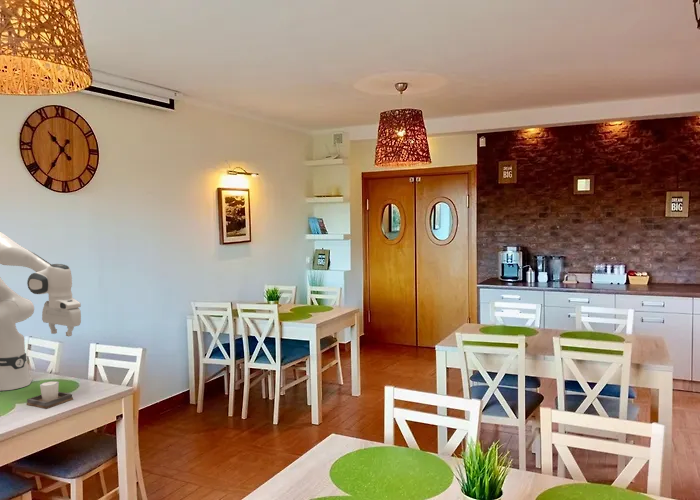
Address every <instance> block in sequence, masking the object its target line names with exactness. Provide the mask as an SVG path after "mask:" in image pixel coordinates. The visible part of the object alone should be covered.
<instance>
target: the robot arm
mask: <svg viewBox="0 0 700 500" xmlns="http://www.w3.org/2000/svg"><path fill="white" fill-rule="evenodd" d="M0 265H1V266H2V265H3V266H11V267H12V266H13V267H23V268H28V269H31V270H32V271H34V272H32V273H31V274H30V275H29V276H28V278H27V282H26V285H27V289H28V290H29V291H30V292H31V293H32V294H34V295H44V294H47V295H48V300H46V301H45V303H44V304H43V307H42V315H41V321H42V322H43V323H45V324H48V327H49V329H50V333H51V334H52V335H55V334H58V329H57V328H56V325H58V326H59V325H60V326H66V329H67V331H65V336H66V337H72V336H73V331H74V329H75V327H79V326H80V325H81V323H82V314H81V309H80V308H81V306H82V305H81V302H80V301H78V300H77V299H76V298H74V297H73V293H72V287H73V280H72V279H73V277H72V271H71V268H70V266H69V265H67V264H62V263H52V264H51V263H50V262H48V261H47V260H46V259H44V258H42V257H41V256H39V255H38V254H36V253H35V252H33V251H31V250H29V249H27V248H25V247H23V246H22V245H20V244H18V243H17V242H16V241H15V240H13V239H12V238H10V237H9V236H7V235H6V234H5V233H3V232H1V231H0ZM34 305H35V304H34V303H33V302H32V300H30V299H29V298H25V297H23V296H21V295H19V293H17V292H15V291H14V290H13V289H12V288H10V287H9V286H8V284H7V283H6V282H5V281H4V280H3V279H2V277H1V276H0V392H1V391H11V390H12V391H13V390H17V389H20V388H24V387H27V386H29V385H30V384H31V383H32V382H33V381H34V378H33V377H31V372H30V371H31V370H30V366H29V363H27V358H28V356H27V353H26V350H25V349H26V348H25V347H26V344H25V336H24V335H23V334H22V333H20V332H19V331H18V329H17V326H16V324H17V323H18V324H19V323H21V322H24V321H25V320H27V319H29V318H30V317H32V316H33V314H34V312H35V306H34Z"/></svg>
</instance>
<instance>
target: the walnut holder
mask: <svg viewBox="0 0 700 500" xmlns="http://www.w3.org/2000/svg"><path fill="white" fill-rule="evenodd" d="M72 400H74V397H73V394H71V393H68V392H61V391H58V398H57V399H54V400H52V401H49V402H44V401H42V395H41V394H39V395H36V396H32V397H30V398H27V399H26V401H27V402H26V406H29V407H35V408H40V409H45V410H47V409H51V408H53V407H56V406H58V405H61V404H64V403H66V402H69V401H72Z"/></svg>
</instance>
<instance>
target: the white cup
mask: <svg viewBox="0 0 700 500" xmlns="http://www.w3.org/2000/svg"><path fill="white" fill-rule="evenodd" d="M59 383H60V382H59V381H57V380H52V381H51V380H50V381H45V382H42V383H40V384H39V388H40V395H42V401H44V402H49V401H52V400H54V399H57V398H58V392H59V385H60V384H59Z"/></svg>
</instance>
